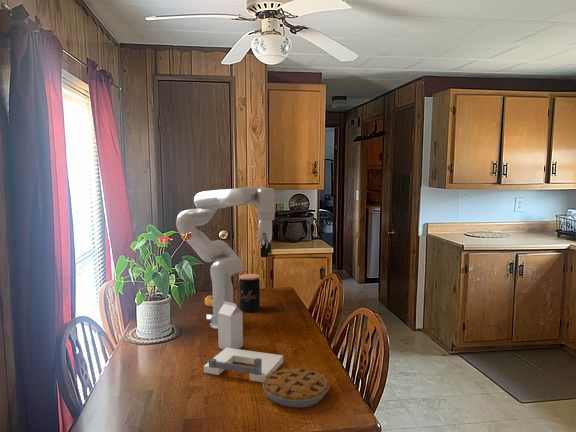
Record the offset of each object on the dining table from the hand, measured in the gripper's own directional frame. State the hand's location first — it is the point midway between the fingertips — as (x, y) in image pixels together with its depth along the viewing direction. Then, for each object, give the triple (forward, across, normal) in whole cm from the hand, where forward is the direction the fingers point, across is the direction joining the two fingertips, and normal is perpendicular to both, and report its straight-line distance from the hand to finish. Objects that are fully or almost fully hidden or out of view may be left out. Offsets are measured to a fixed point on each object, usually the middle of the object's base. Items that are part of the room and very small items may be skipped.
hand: (265, 255), depth 198 cm
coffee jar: (+36, -33, -13) cm, 50 cm away
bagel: (+36, -40, -34) cm, 64 cm away
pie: (+36, +52, +17) cm, 66 cm away
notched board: (+36, +35, -3) cm, 50 cm away
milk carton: (+36, +18, -12) cm, 42 cm away
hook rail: (+33, +43, -5) cm, 55 cm away
